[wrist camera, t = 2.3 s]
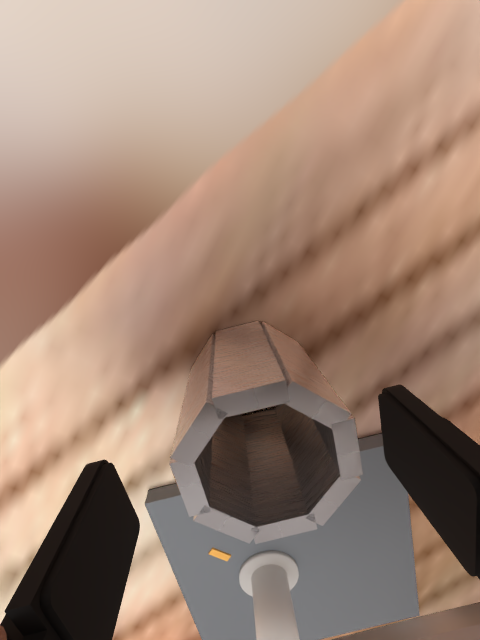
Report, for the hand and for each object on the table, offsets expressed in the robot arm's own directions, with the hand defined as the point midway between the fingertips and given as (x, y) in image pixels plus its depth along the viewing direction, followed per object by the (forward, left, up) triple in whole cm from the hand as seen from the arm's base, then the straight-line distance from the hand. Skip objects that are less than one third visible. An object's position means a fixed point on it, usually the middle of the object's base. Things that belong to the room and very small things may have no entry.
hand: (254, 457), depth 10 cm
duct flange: (0, +15, -7) cm, 16 cm away
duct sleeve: (0, +1, -7) cm, 7 cm away
